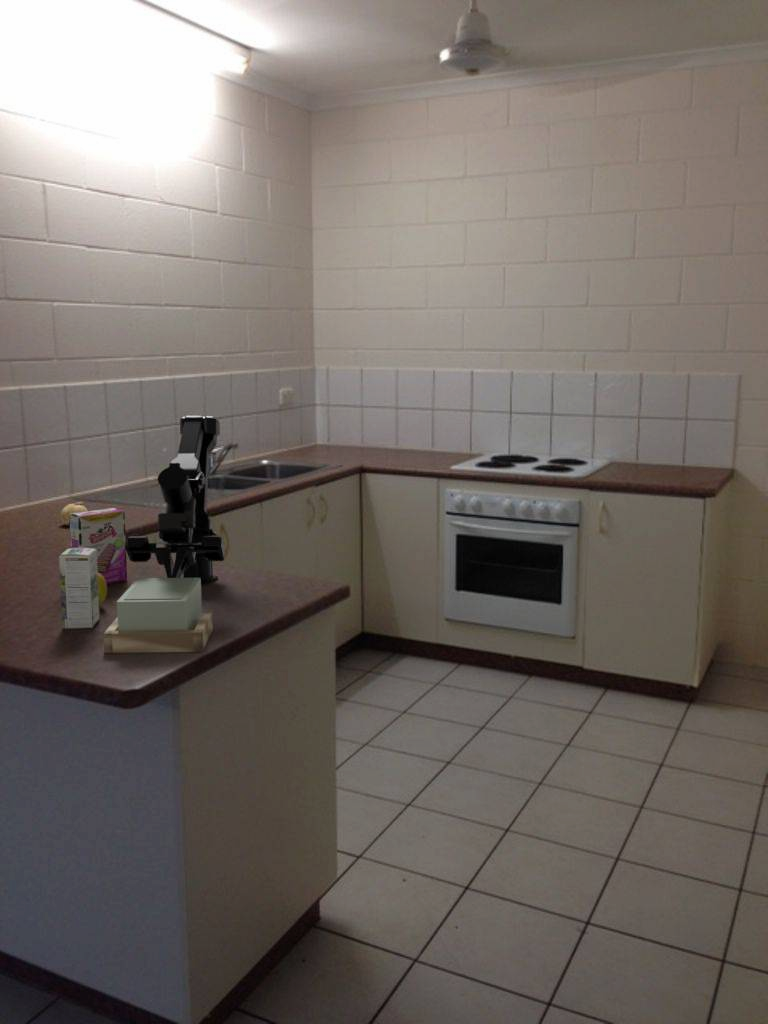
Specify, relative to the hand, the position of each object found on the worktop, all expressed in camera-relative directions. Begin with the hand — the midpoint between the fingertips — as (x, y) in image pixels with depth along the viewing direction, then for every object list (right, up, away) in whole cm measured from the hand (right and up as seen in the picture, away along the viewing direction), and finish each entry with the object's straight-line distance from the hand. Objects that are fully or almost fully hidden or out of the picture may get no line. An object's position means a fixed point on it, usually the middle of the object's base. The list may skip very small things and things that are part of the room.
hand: (171, 585), depth 177 cm
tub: (0, -9, -7) cm, 11 cm away
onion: (-50, +10, +94) cm, 107 cm away
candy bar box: (-23, -2, +29) cm, 37 cm away
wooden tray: (0, -9, -10) cm, 14 cm away
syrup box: (-17, -8, 0) cm, 19 cm away
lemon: (-18, -6, +10) cm, 22 cm away
